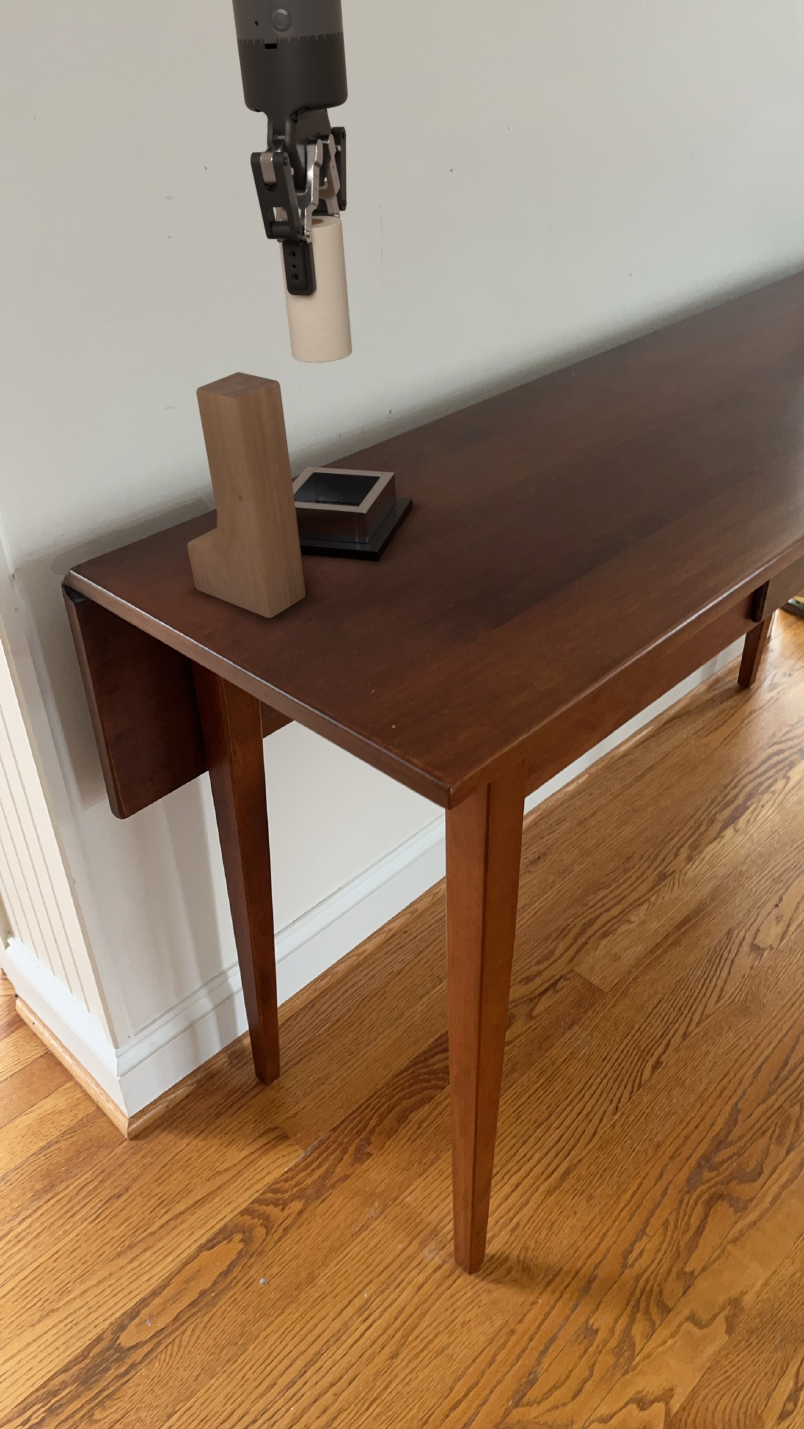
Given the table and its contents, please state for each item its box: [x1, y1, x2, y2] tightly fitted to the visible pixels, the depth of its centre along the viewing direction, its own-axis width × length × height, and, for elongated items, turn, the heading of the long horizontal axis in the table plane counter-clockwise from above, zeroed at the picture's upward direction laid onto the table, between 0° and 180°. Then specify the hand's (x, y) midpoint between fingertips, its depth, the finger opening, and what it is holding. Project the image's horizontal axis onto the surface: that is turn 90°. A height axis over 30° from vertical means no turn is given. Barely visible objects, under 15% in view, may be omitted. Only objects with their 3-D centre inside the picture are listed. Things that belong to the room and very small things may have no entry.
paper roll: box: [278, 216, 353, 364], centre depth 82 cm, size 5×5×10 cm
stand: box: [292, 466, 413, 562], centre depth 93 cm, size 11×11×4 cm
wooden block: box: [186, 371, 307, 619], centre depth 80 cm, size 9×4×18 cm, turn 52°
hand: (314, 283), depth 82 cm, fingers closed on paper roll, 5 cm apart
